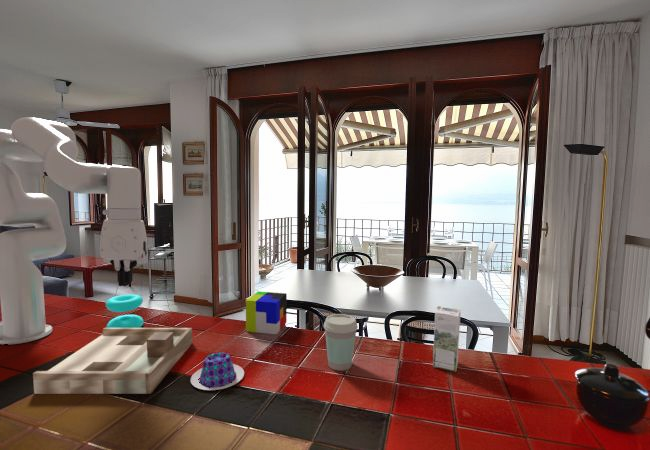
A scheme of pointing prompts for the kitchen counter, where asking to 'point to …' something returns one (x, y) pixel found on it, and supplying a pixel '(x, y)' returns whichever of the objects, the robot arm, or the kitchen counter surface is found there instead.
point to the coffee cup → (340, 340)
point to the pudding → (217, 372)
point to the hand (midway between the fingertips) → (125, 284)
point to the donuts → (122, 305)
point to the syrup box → (446, 338)
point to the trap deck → (114, 364)
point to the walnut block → (159, 344)
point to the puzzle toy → (266, 312)
